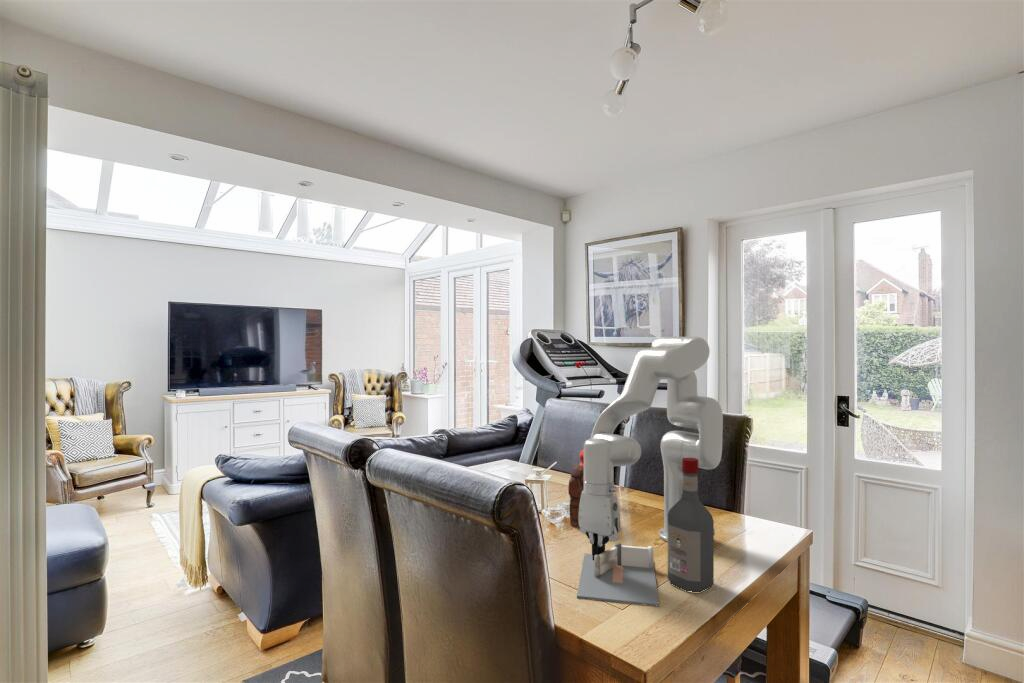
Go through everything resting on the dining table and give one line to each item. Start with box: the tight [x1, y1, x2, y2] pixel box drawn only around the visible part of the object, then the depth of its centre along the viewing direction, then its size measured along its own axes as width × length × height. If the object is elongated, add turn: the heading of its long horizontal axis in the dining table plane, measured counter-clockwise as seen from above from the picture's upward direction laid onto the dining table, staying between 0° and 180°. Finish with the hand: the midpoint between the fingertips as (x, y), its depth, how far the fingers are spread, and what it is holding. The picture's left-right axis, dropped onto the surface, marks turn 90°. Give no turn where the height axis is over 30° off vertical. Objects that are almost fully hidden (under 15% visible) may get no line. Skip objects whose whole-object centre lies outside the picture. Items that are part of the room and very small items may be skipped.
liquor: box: [667, 458, 715, 593], centre depth 125 cm, size 9×9×30 cm
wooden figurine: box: [567, 464, 584, 527], centre depth 168 cm, size 12×6×18 cm, turn 157°
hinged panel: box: [594, 546, 617, 577], centre depth 130 cm, size 9×1×5 cm, turn 137°
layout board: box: [576, 542, 660, 607], centre depth 128 cm, size 18×24×6 cm
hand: (598, 559), depth 132 cm, fingers closed
